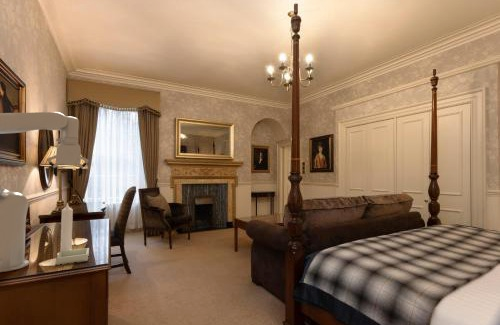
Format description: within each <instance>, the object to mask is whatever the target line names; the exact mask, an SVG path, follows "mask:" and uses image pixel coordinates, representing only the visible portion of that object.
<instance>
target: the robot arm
mask: <svg viewBox="0 0 500 325" xmlns="http://www.w3.org/2000/svg"><path fill="white" fill-rule="evenodd" d="M79 125H80V121H79V119H78V118H77V117H74V116H68V115H67V116H66V115H65V114H63V113H61V112H59V111H41V112H39V111H38V112H5V113H4V112H0V134H1V135H2V134H3V135H4V134H17V133H25V132H30V131H39V130H48V131H59V132H60V134H59V138H56V139H55V141H56V142H58V143H57V147H56V153H55V155H53V156H50V157H48V158H46V161H47V163H48V165H49V166H51V167H52V168H53V172H52V174H53V175H54V176H55V177H58V166H60V165H77V166H78V167H79V168H78V176H79V177H81V175H83V168H84V167H85V166H87V165H88V163H89V162H90V160H89V159H88V158H86V157H84V156H82V154H81V153H82V150H81V149H82V148H81V145H80V144H79V129H80V128H79ZM52 160H55V164H54V163H53V162H52ZM82 160H83V161H84V162H83V164H81V162H82ZM28 209H29V201H28V198H27V196H25V195H24V194H22V193H21V192H17V191H10V190H8V189H6V188H5V187H4V186H3V185H2V183H1V182H0V273H4V272H10V271H11V272H12V271H14V270H19V269H22V268H25V267H27V266H28V265H30V260H28V259H25V255H26V254H25V253H26V252H25V251H26V224H27V223H26V221H27V220H26V219H27V215H28Z"/></svg>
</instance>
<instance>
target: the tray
mask: <svg viewBox="0 0 500 325" xmlns="http://www.w3.org/2000/svg"><path fill="white" fill-rule="evenodd" d="M59 252H60V253H59ZM59 252H58V253H59V254H58V253H57V254H58V256H57V255H56V258H55V260H56V261H55V262H56V266H61V265H60V264H62V265H67V263H69V264H74V263H73V262H77V263H81V262H82V263H84V262H88V260H89V257H88V256H90V248H89V247H87V248H77V249H72V250H67V251H61V250H60V251H59Z"/></svg>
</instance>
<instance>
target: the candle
mask: <svg viewBox="0 0 500 325" xmlns="http://www.w3.org/2000/svg"><path fill="white" fill-rule="evenodd" d="M73 211H74V210H73V208H71V207H70V206H69V202H66V205H65V206H64V208H63V209H61V219H60V220H61V222H60V223H61V226H60V251H67V250H73V218H74V217H73V216H74V215H73V213H74V212H73ZM60 251H59V252H57V254H56V257H57V256H58V254H59V253H60Z"/></svg>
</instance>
